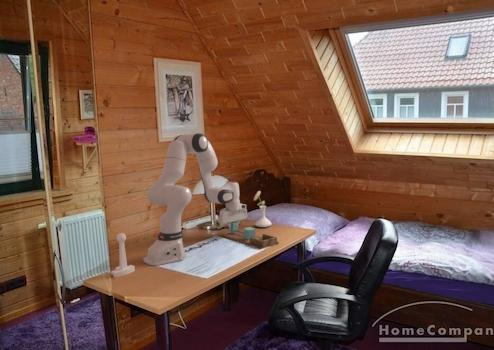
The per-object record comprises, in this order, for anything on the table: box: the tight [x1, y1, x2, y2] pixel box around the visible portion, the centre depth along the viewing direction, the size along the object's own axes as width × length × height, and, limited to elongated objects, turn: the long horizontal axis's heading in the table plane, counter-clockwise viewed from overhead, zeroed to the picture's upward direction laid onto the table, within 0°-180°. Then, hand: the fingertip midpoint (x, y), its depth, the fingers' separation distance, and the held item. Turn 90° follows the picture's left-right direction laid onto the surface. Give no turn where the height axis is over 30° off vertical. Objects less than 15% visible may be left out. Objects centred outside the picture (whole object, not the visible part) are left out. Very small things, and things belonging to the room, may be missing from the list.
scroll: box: [214, 219, 243, 230], centre depth 283 cm, size 8×8×20 cm
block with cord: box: [229, 222, 256, 240], centre depth 255 cm, size 5×19×6 cm, turn 41°
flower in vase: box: [253, 190, 273, 228], centre depth 280 cm, size 13×11×25 cm
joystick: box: [110, 232, 136, 278], centre depth 202 cm, size 11×8×20 cm
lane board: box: [221, 230, 279, 250], centre depth 251 cm, size 14×36×4 cm, turn 41°
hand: (233, 228), depth 261 cm, fingers closed on block with cord, 3 cm apart
